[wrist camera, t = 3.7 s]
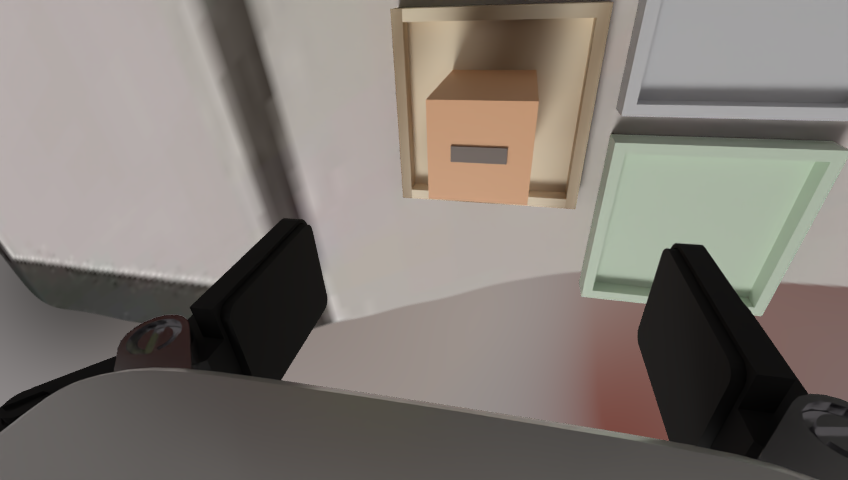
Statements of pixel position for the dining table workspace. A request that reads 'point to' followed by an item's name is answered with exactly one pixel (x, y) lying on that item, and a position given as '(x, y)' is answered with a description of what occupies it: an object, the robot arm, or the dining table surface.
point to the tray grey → (738, 60)
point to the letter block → (482, 135)
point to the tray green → (705, 209)
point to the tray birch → (505, 50)
